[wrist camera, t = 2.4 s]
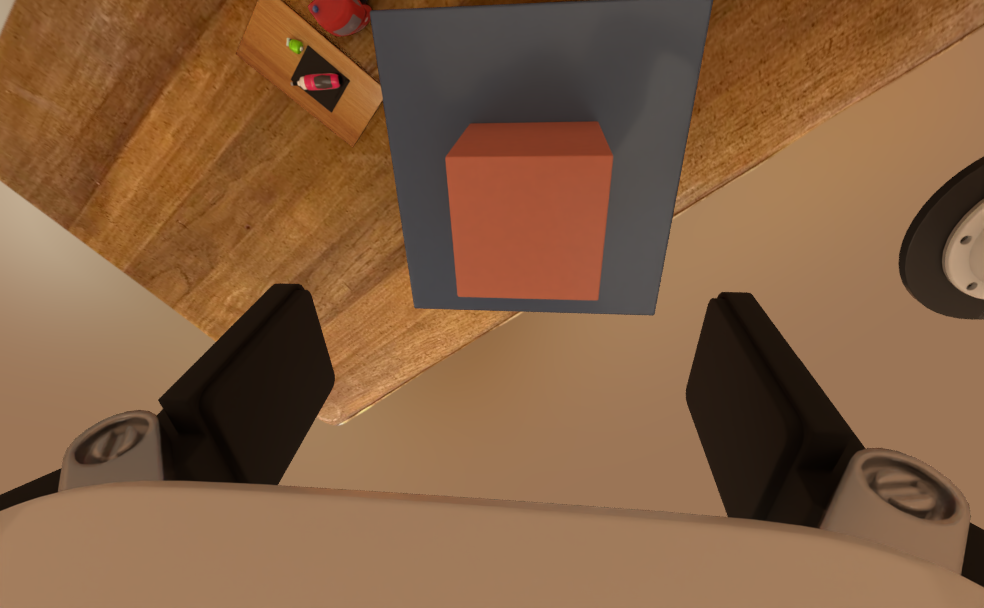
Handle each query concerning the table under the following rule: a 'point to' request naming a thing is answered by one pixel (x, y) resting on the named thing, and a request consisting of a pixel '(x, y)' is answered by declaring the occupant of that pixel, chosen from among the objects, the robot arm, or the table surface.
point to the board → (310, 69)
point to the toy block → (529, 209)
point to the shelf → (543, 98)
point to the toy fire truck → (341, 15)
